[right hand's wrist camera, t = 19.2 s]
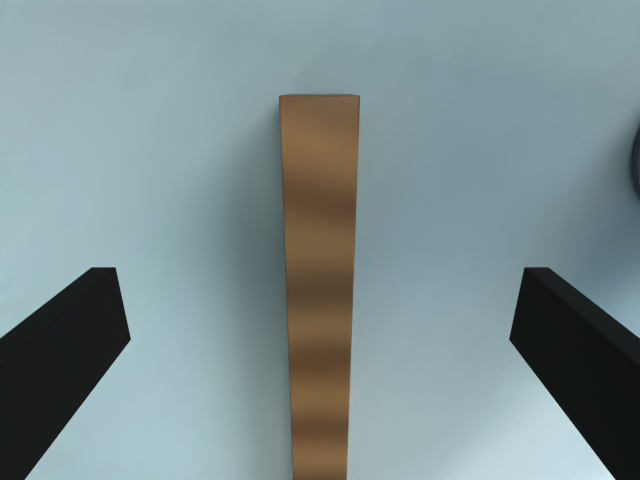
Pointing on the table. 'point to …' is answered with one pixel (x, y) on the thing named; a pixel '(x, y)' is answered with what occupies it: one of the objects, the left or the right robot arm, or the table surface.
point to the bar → (319, 273)
